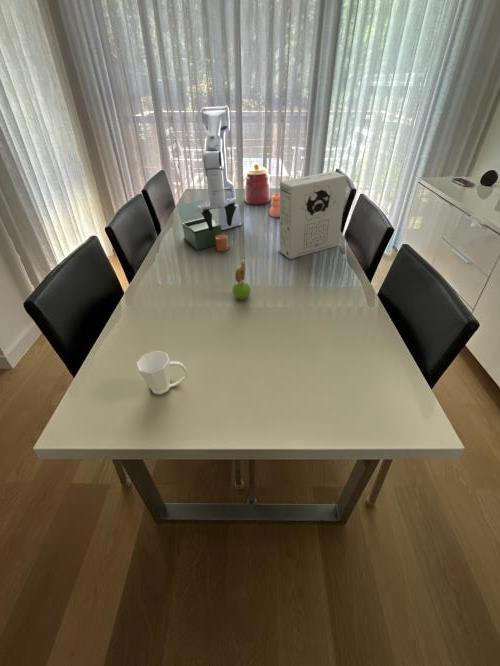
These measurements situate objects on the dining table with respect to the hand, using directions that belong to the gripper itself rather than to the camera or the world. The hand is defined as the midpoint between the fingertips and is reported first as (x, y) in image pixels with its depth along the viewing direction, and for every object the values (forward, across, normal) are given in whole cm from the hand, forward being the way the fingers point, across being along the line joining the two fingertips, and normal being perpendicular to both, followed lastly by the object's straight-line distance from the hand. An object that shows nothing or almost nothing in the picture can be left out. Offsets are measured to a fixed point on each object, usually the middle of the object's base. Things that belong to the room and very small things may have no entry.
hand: (220, 227), depth 126 cm
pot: (+8, 0, 0) cm, 8 cm away
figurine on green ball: (+9, -10, -34) cm, 37 cm away
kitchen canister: (+9, +40, +41) cm, 58 cm away
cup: (+9, -42, -57) cm, 72 cm away
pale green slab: (-2, -3, +19) cm, 20 cm away
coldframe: (+8, -3, +12) cm, 15 cm away
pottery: (+9, +42, +16) cm, 46 cm away
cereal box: (+9, +27, -19) cm, 34 cm away
